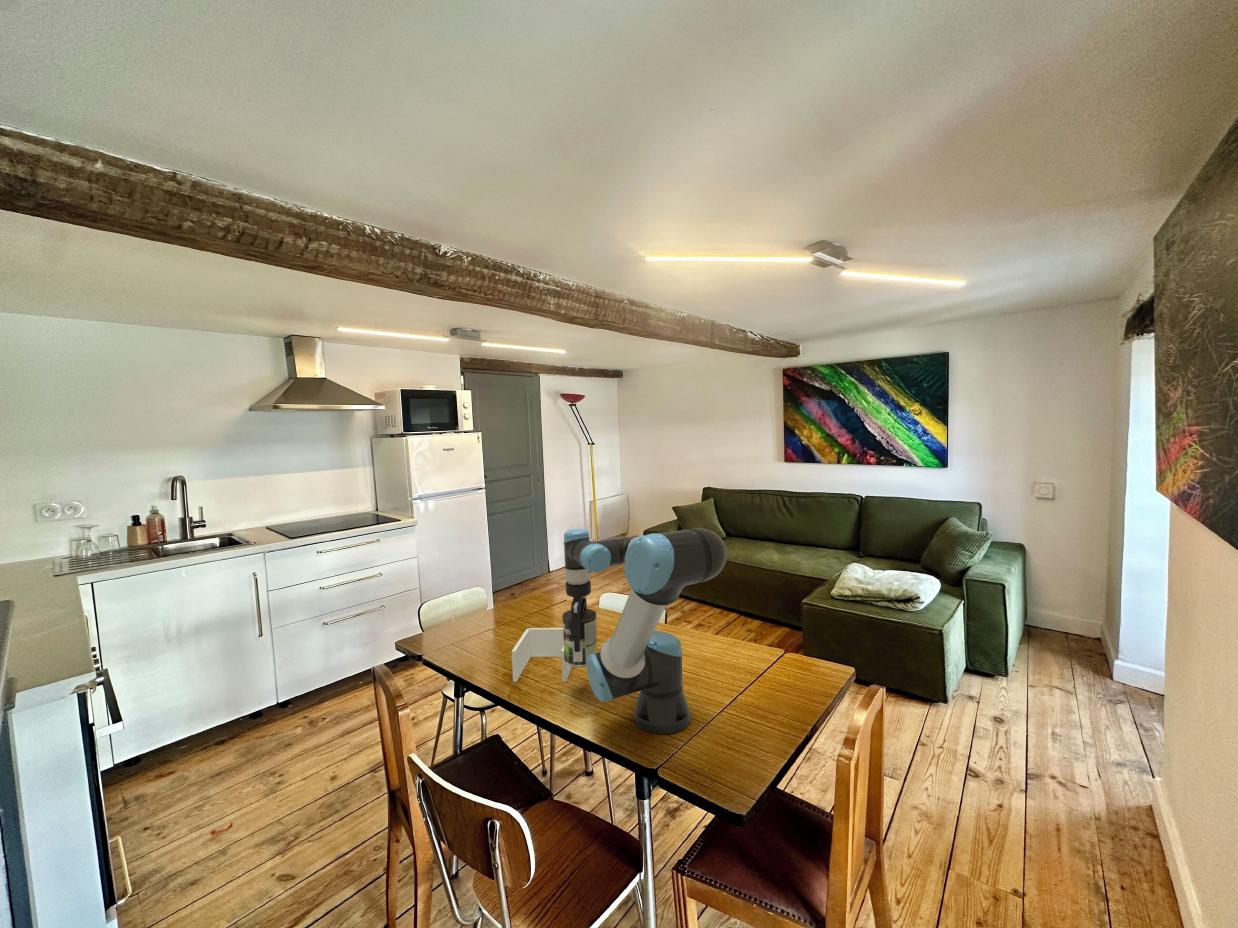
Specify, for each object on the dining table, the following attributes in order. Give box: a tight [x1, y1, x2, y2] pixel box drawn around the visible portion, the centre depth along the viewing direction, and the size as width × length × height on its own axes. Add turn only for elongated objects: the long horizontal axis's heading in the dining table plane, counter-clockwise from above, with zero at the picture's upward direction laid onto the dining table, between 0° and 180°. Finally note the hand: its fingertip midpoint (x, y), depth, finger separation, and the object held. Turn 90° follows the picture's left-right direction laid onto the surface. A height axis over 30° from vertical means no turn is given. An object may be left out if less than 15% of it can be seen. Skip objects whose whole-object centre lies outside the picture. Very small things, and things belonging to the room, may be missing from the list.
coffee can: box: [561, 608, 598, 668], centre depth 147 cm, size 10×10×14 cm
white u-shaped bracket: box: [511, 627, 572, 683], centre depth 166 cm, size 19×17×10 cm
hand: (580, 652), depth 148 cm, fingers closed on coffee can, 10 cm apart
